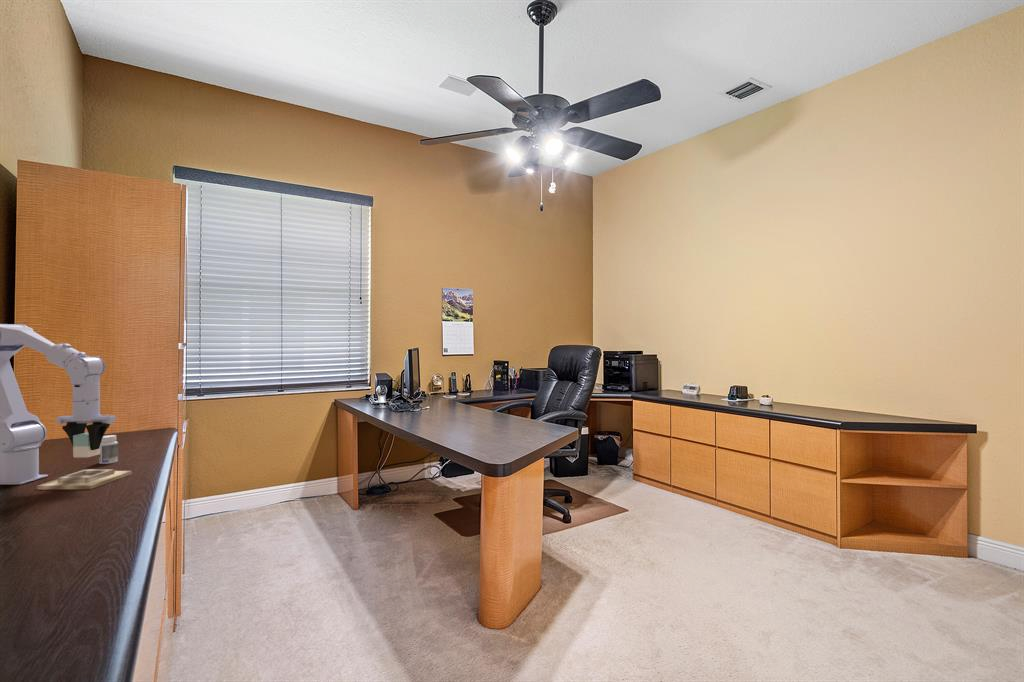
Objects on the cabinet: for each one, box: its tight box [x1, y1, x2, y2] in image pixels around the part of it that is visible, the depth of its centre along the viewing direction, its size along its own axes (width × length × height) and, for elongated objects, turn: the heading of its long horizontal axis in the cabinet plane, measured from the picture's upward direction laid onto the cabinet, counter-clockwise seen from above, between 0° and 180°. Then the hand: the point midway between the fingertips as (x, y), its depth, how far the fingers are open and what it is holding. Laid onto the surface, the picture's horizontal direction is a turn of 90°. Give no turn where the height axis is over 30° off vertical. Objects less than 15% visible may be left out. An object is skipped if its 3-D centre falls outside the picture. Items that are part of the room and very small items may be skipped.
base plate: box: [36, 468, 133, 491], centre depth 134 cm, size 14×14×2 cm
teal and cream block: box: [72, 432, 100, 458], centre depth 134 cm, size 4×4×6 cm
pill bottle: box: [98, 434, 119, 465], centre depth 155 cm, size 5×5×8 cm
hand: (86, 449), depth 134 cm, fingers closed on teal and cream block, 4 cm apart
